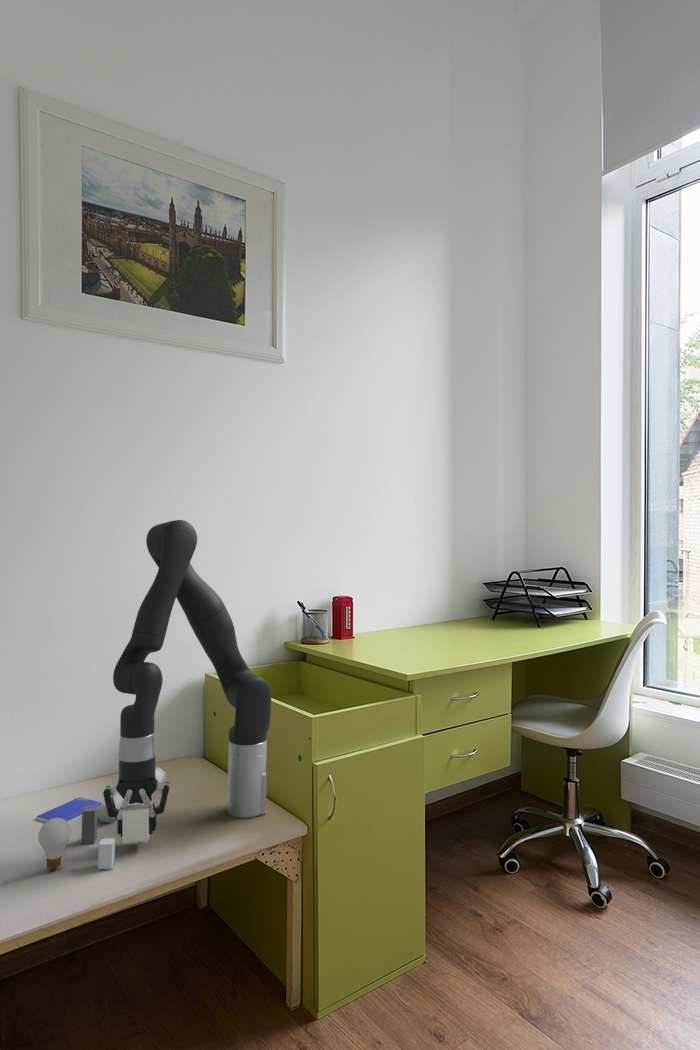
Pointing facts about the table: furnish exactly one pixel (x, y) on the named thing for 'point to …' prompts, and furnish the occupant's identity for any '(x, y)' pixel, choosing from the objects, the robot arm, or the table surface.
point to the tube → (118, 799)
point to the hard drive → (68, 810)
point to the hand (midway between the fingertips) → (136, 833)
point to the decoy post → (106, 853)
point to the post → (89, 824)
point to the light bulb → (54, 840)
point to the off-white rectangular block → (135, 823)
